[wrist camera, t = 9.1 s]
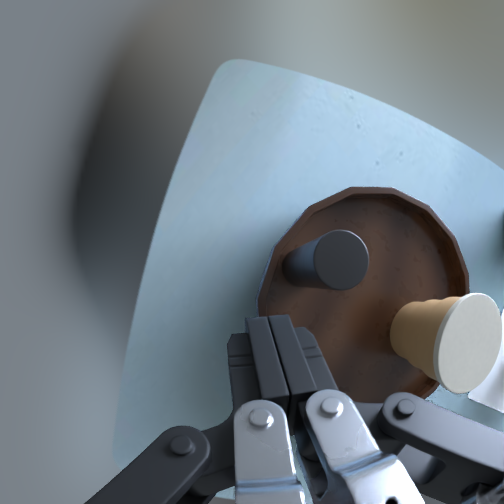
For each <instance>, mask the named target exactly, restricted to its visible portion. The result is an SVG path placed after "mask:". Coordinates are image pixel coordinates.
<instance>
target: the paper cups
mask: <svg viewBox="0 0 504 504" xmlns="http://www.w3.org/2000/svg"><path fill="white" fill-rule="evenodd" d="M390 341H391V345H392V348H393V350H394V351H395V352H396V354H397V355H399V356H400V357H402V358H405V359H407V360H408V362H409V363H410V364H411V365H413V366H414V367H416V368H419V369H421V370H423V372H424V373H425V374H426V375H427V376H428V377H430V378H432V379H434V380H436V381H439V383H440V384H441V386H442V387H443V388H445V389H446V390H448V391H450V392H452V393H456V394H462V393H466V392H469V391H471V390H473V389H475V388H476V387H477V386H479V385H480V384H481V383H482V382H483V381H484V380H485V378H486V377H487V376H488V374H489V373H490V371H491V370H492V368H493V366H494V364H495V362H496V359H497V357H498V354H499V351H500V347H501V341H502V319H501V315H500V311H499V309H498V307H497V305H496V303H495V302H494V301H493V299H491V298H490V297H489V296H487V295H485V294H482V293H471V294H467V295H465V296H463V297H448V298H445V299H443V300H435V299H432V300H427V301H425V302H411V303H408V304H406V305H405V306H403V307H402V308H401V309H400V310H399V311H398V313H397V314H396V316H395V317H394V319H393V322H392V325H391V329H390Z"/></svg>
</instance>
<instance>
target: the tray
mask: <svg viewBox="0 0 504 504" xmlns="http://www.w3.org/2000/svg"><path fill="white" fill-rule="evenodd" d="M467 294H470V291H469V273H468V270H467V268H466V265H465V262H464V259H463V256H462V253H461V251H460V248H459V245H458V243H457V240H456V238H455V236H454V234H453V233H452V232H451V231H450V229H449V228H448V227H447V226H446V225H445V223H444V222H443V221H442V220H441V219H440V217H439V216H438V215H437V214H436V213H435V212H434V211H433V209H432V208H431V207H430V206H429V205H427V204H425V203H423V202H421V201H420V200H418V199H416V198H414V197H412V196H410V195H408V194H406V193H403V192H401V191H399V190H397V189H395V188H393V187H349V188H347V189H345V190H343V191H341V192H339V193H336V194H334V195H332V196H330V197H328V198H326V199H324V200H321V201H319V202H317V203H315V204H313V205H311V206H309V207H308V208H307V209H306V210H305V211H304V212H303V213H302V214H301V215H300V217H299V218H298V219H297V220H296V221H295V222H294V224H293V225H292V226H291V227H290V228H289V229H288V230H287V231H286V233H285V234H284V235H283V236H282V237H281V239H280V240H279V241H278V242H277V243H276V244H275V246H274V247H273V248H272V251H271V254H270V257H269V260H268V262H267V265H266V267H265V270H264V272H263V275H262V279H261V283H260V287H259V290H258V293H257V296H256V308H257V317H267V316H275V315H285V314H288V315H289V317H290V319H291V322H292V324H293V327H294V328H297V327H305V328H306V329H307V330H308V331H309V332H311V333H312V334H313V335H314V337H315V339H316V341H317V343H318V346H319V348H320V350H321V352H322V356H323V357H324V359H325V361H326V363H327V365H328V368H329V370H330V372H331V374H332V377H333V379H334V381H335V383H336V385H337V388H338V389H339V391H340V392H343V393H345V394H346V395H348V396H349V397H350V398H351V400H352V401H355V402H360V403H384V401H385V400H386V398H387V397H389V396H390V395H392V394H394V393H397V392H407V393H411V394H413V395H416V396H418V397H420V398H422V399H426V398H427V397H428V396H430V395H431V394H432V393H433V392H434V391H435V390H436V389H437V387H438V386H439V385H440V383H439V381H436V380H434V379H432V378H430V377H428V376H427V375H426V374H425V373H424V372H423V370H421V369H419V368H416V367H414V366H413V365H411V364H410V363H409V362H408V360H407V359H405V358H402V357H400V356H399V355H397V354H396V352H395V351H394V350H393V348H392V345H391V341H390V329H391V325H392V322H393V319H394V317H395V316H396V314H397V313H398V311H399V310H400V309H401V308H402V307H403V306H405V305H406V304H408V303H411V302H425V301H427V300H432V299H435V300H443V299H445V298H448V297H463V296H465V295H467Z"/></svg>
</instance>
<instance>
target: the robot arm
mask: <svg viewBox="0 0 504 504" xmlns="http://www.w3.org/2000/svg"><path fill="white" fill-rule="evenodd" d="M227 352H228V365H229V376H230V385H231V393H232V402H233V410H232V413H231V415H230V416H229V417H228V419H227V420H225V421H224V422H223V423H221V424H220V425H218V426H215V427H213V428H210V429H207V430H204V431H200V430H198V429H196V428H194V427H190V426H176V427H172V428H169V429H167V430H166V431H164V432H163V433H162V434H161V435H160V436H159V437H158V438H157V439H156V440H154V441H153V442H152V443H151V444H150V445H149V446H148V447H147V448H146V449H145V450H144V451H143V452H142V453H141V454H140V455H139V456H138V457H136V458H135V459H134V460H133V461H132V462H131V463H130V464H129V465H128V466H127V467H126V468H124V469H123V470H122V471H121V472H120V473H119V474H118V475H117V476H116V477H114V478H113V479H112V480H111V481H110V482H109V483H108V484H107V485H105V486H104V487H103V488H102V489H101V490H100V491H99V492H97V493H96V494H95V495H94V496H93V497H92V498H90V499H89V500H88V501H87V502H85V503H84V504H208V503H209V502H210V501H211V499H212V498H213V497H214V496H215V495H216V494H217V492H219V491H222V490H224V489H227V488H230V487H232V486H235V504H306V503H305V497H304V492H303V488H302V485H301V483H300V481H298V479H297V476H296V471H295V465H294V459H293V453H292V447H291V441H290V436H292V435H294V436H295V440H296V443H297V447H296V457H297V460H298V462H299V465H300V468H301V470H302V473H303V476H304V478H305V481H306V483H307V486H308V489H309V491H310V494H311V496H312V499H313V503H314V504H425V502H424V500H423V499H422V497H421V495H420V494H419V493H422V494H424V495H426V496H429V497H431V498H434V499H436V500H439V501H441V502H444V503H446V504H504V433H503V432H501V431H498V430H496V429H493V428H491V427H488V426H486V425H483V424H481V423H478V422H476V421H473V420H471V419H468V418H466V417H464V416H461V415H459V414H456V413H454V412H452V411H449V410H447V409H445V408H442V407H440V406H438V405H436V404H433V403H431V402H429V401H427V400H424V399H422V398H420V397H418V396H416V395H413V394H411V393H407V392H397V393H394V394H392V395H390V396H389V397H387V398H386V400H385V401H384V403H360V402H355V401H352V400H351V398H350V397H349V396H348V395H346V394H345V393H343V392H340V391H339V389H338V388H337V385H336V383H335V381H334V379H333V377H332V374H331V372H330V370H329V368H328V365H327V363H326V361H325V359H324V357H323V356H322V352H321V350H320V348H319V346H318V343H317V341H316V339H315V337H314V335H313V334H312V333H311V332H309V331H308V330H307V329H306V328H305V327H297V328H294V327H293V324H292V322H291V319H290V317H289V315H288V314H285V315H275V316H267V317H254V318H245V333H237V334H232V335H231V337H230V339H229V341H228V343H227Z"/></svg>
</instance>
